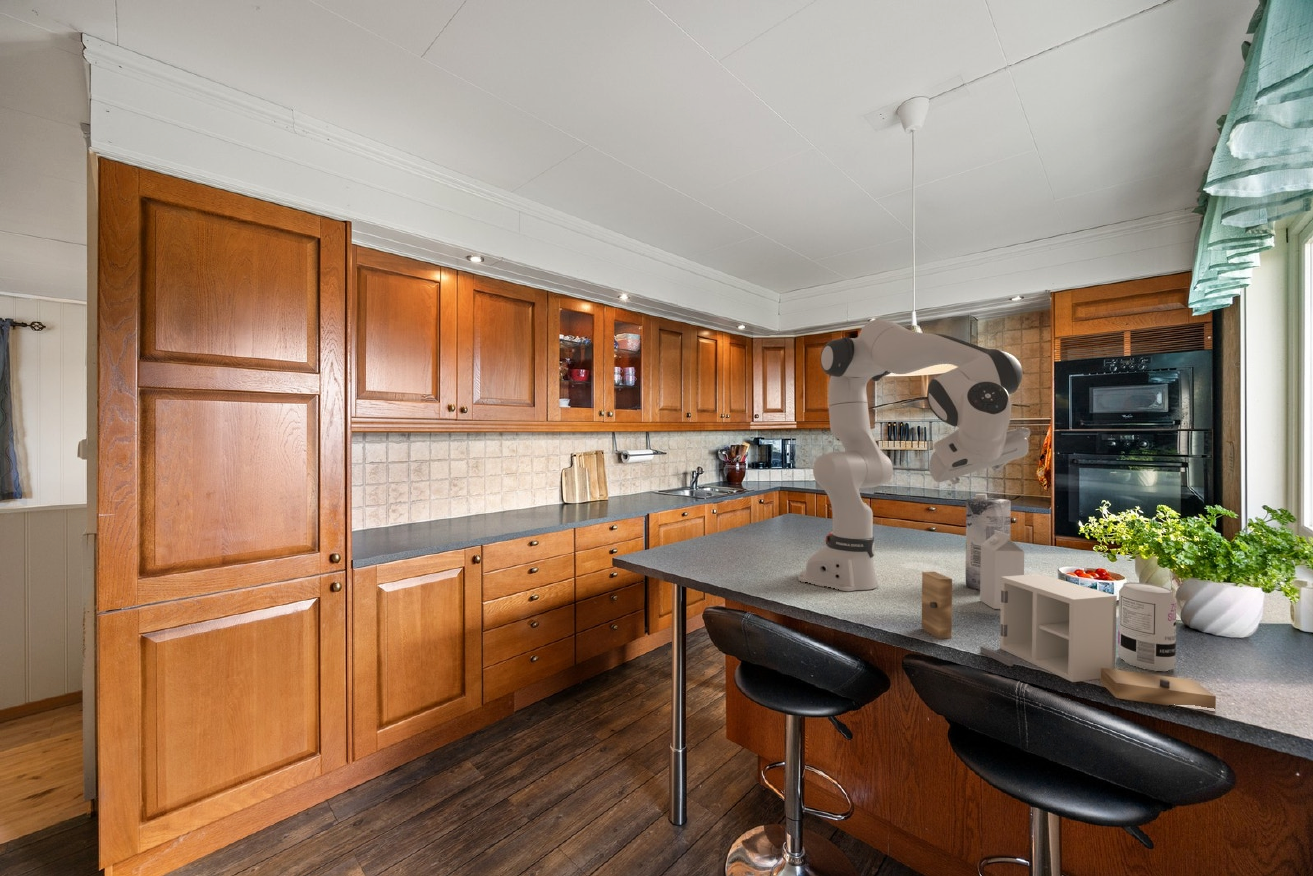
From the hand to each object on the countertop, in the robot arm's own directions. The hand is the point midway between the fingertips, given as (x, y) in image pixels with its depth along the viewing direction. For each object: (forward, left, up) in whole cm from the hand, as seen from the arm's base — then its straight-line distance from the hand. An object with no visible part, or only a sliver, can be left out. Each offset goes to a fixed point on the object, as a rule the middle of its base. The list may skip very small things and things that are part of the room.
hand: (975, 475), depth 125 cm
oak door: (-7, -12, -35) cm, 38 cm away
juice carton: (+3, +34, -35) cm, 49 cm away
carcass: (+12, -19, -35) cm, 41 cm away
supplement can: (+29, -8, -35) cm, 46 cm away
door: (+27, -24, -35) cm, 51 cm away
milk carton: (+6, +18, -35) cm, 40 cm away
